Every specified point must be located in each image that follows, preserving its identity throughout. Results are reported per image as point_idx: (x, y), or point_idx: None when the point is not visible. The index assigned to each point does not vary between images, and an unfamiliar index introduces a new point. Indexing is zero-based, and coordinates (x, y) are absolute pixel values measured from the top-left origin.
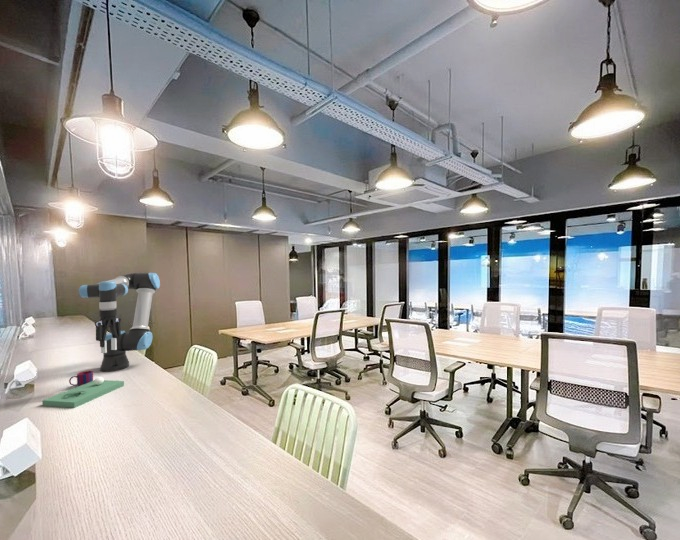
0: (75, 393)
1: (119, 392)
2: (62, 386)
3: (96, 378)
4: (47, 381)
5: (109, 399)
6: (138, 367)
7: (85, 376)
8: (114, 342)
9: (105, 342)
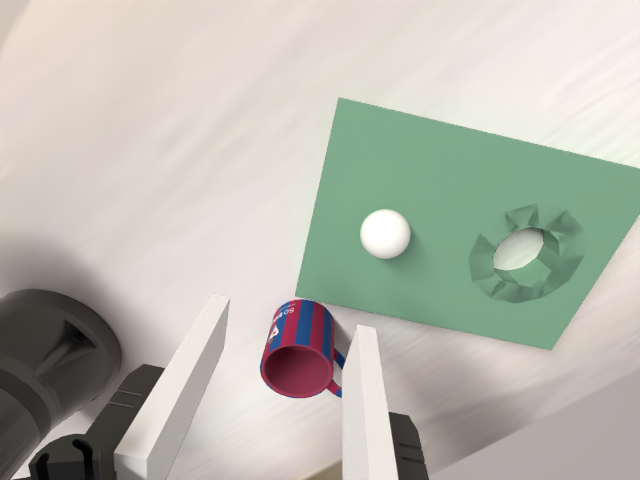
0: (492, 267)
1: (460, 44)
2: (313, 399)
3: (397, 251)
4: (252, 476)
5: (577, 31)
6: (19, 220)
7: (324, 345)
8: (185, 393)
9: (390, 469)
